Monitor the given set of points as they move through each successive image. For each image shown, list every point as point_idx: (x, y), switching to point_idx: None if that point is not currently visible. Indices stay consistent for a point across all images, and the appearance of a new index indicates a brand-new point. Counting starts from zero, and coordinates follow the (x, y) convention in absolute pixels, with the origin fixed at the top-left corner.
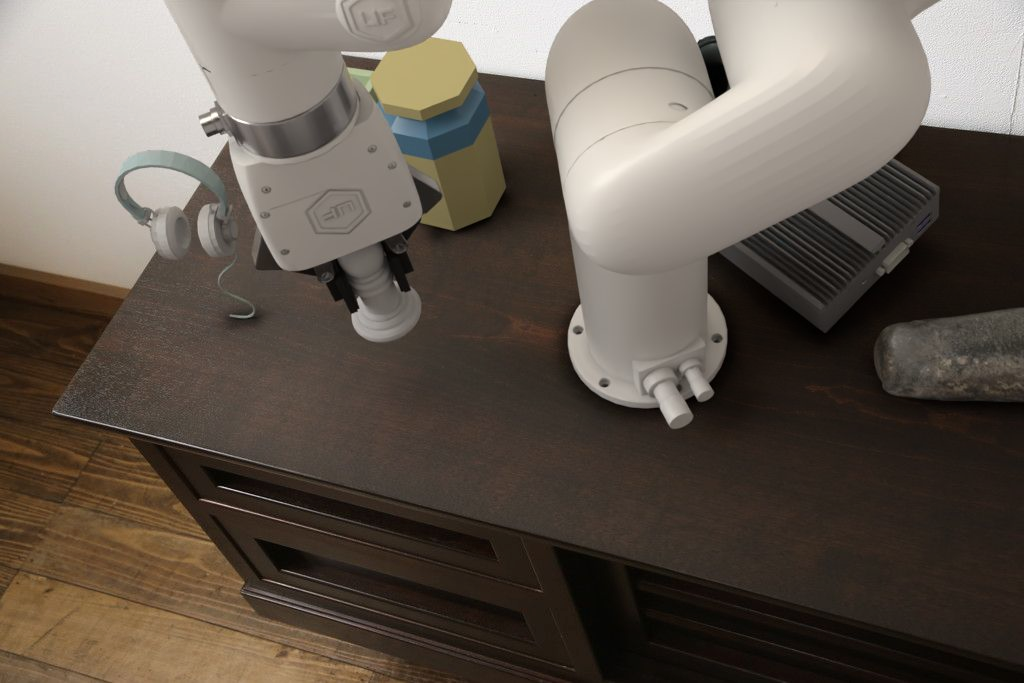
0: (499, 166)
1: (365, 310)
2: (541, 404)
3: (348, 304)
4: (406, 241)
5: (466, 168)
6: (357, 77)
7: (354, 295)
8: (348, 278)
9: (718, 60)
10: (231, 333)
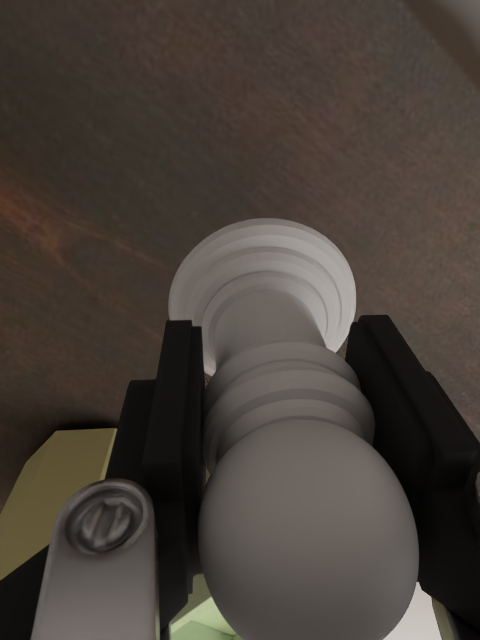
0: (8, 501)
1: (319, 324)
2: (29, 45)
3: (398, 343)
4: (49, 546)
5: (31, 532)
6: (182, 638)
7: (353, 370)
8: (369, 436)
9: None
10: (466, 395)
